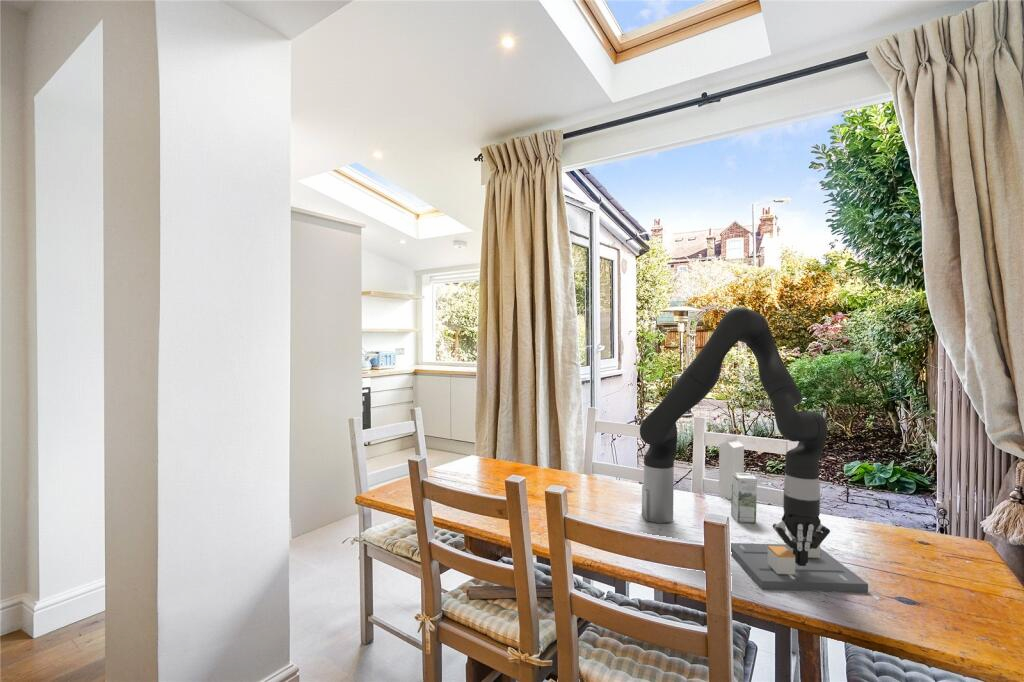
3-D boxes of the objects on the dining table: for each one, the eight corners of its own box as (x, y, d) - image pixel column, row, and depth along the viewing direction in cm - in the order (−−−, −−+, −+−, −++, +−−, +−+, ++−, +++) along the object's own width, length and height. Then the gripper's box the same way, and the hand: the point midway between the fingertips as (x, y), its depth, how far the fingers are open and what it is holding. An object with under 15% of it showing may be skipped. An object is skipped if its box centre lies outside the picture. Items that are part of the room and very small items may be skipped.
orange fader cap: (777, 573, 113) (778, 555, 113) (767, 563, 118) (767, 545, 118) (794, 574, 113) (795, 555, 113) (783, 564, 118) (784, 546, 118)
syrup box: (749, 516, 155) (749, 472, 154) (756, 523, 149) (757, 477, 148) (730, 515, 155) (731, 471, 155) (737, 523, 149) (738, 477, 149)
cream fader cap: (804, 557, 122) (804, 539, 122) (793, 548, 127) (793, 531, 127) (820, 557, 122) (820, 540, 122) (808, 548, 127) (809, 532, 127)
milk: (743, 497, 173) (744, 437, 172) (732, 500, 170) (734, 439, 169) (728, 492, 178) (729, 434, 177) (718, 495, 175) (719, 435, 174)
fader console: (761, 589, 111) (761, 580, 111) (726, 550, 131) (727, 542, 131) (868, 592, 109) (868, 583, 109) (816, 552, 129) (816, 544, 129)
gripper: (781, 498, 112) (780, 571, 112) (839, 499, 111) (838, 573, 111) (766, 488, 119) (765, 556, 120) (820, 489, 119) (819, 557, 119)
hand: (800, 564), depth 115 cm, fingers closed
